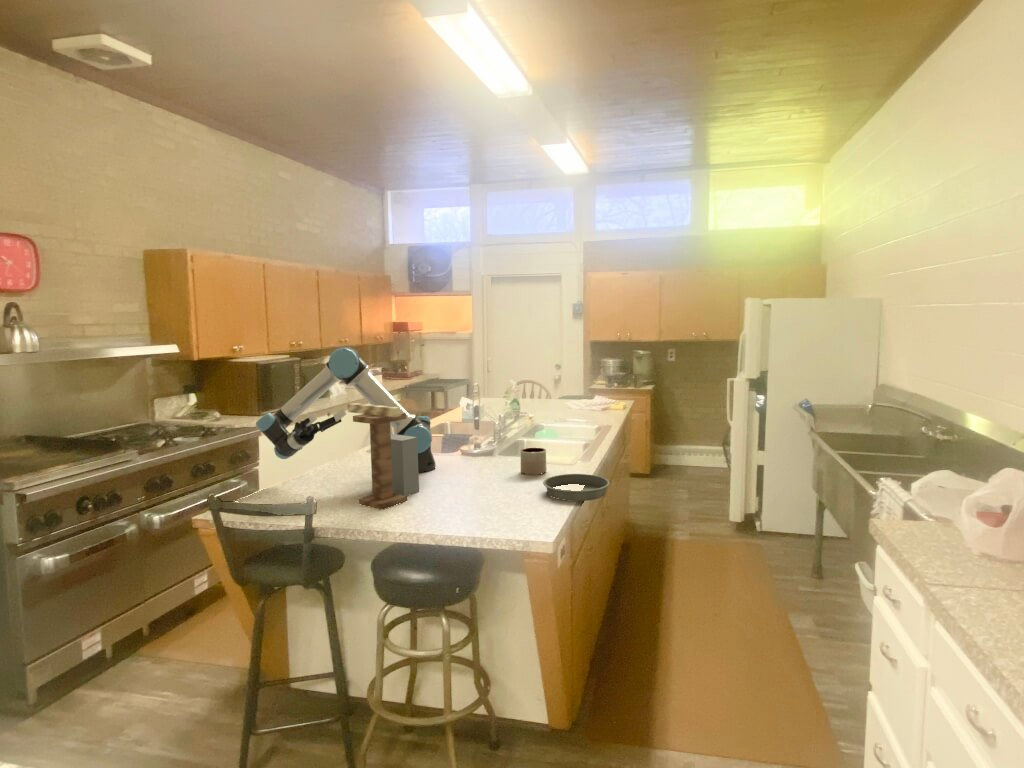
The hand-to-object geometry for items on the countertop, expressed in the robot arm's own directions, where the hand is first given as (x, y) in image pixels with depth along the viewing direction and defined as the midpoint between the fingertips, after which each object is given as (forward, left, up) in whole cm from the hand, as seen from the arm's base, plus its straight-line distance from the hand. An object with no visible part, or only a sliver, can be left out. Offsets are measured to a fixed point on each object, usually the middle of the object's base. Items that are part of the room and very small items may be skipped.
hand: (330, 413), depth 248 cm
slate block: (-23, +5, -30) cm, 38 cm away
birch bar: (-15, +18, +2) cm, 24 cm away
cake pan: (-87, +29, -31) cm, 97 cm away
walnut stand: (-17, +20, -31) cm, 40 cm away
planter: (-81, -7, -31) cm, 87 cm away
